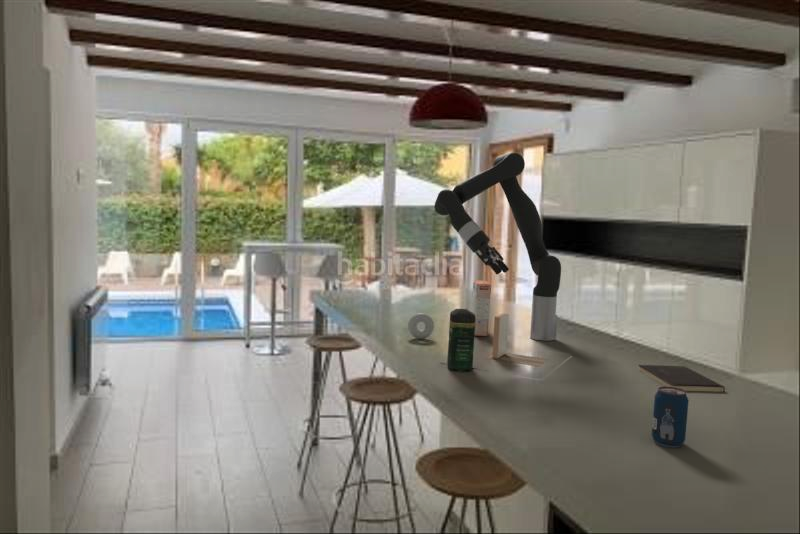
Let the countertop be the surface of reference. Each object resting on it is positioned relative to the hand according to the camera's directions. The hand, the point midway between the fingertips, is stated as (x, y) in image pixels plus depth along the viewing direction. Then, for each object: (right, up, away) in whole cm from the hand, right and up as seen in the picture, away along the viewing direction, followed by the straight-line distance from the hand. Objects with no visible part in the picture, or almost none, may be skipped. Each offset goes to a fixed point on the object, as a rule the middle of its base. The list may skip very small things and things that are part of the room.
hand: (503, 272), depth 222 cm
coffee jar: (-17, -30, -21) cm, 41 cm away
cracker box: (-4, -25, +36) cm, 44 cm away
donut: (-28, -26, +20) cm, 43 cm away
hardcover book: (+50, -34, -25) cm, 66 cm away
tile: (-2, -28, -5) cm, 29 cm away
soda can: (+24, -38, -80) cm, 92 cm away
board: (+3, -30, -8) cm, 31 cm away
